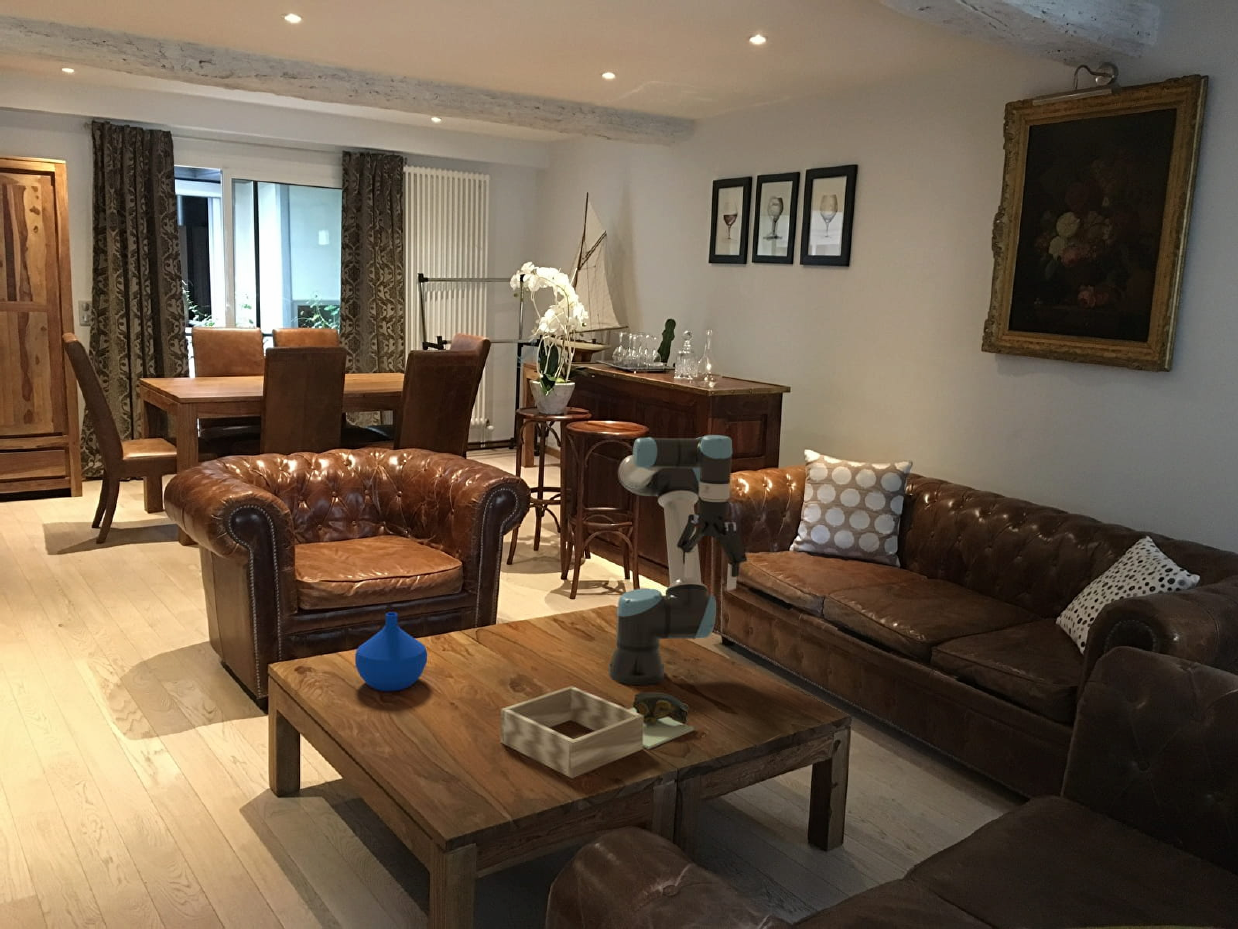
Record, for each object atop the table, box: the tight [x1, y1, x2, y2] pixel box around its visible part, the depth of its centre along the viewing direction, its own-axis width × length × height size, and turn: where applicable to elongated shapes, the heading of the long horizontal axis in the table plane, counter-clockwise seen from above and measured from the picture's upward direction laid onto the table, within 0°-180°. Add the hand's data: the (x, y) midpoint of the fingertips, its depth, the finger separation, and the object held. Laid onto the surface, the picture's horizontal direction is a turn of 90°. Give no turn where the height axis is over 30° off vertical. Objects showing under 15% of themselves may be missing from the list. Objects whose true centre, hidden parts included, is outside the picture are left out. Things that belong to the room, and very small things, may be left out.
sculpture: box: [632, 691, 689, 725], centre depth 246 cm, size 13×6×7 cm, turn 86°
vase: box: [354, 611, 428, 692], centre depth 265 cm, size 18×18×19 cm
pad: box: [629, 707, 695, 750], centre depth 245 cm, size 18×16×1 cm
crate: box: [500, 685, 644, 779], centre depth 233 cm, size 24×22×8 cm
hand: (709, 583), depth 253 cm, fingers open, 13 cm apart
